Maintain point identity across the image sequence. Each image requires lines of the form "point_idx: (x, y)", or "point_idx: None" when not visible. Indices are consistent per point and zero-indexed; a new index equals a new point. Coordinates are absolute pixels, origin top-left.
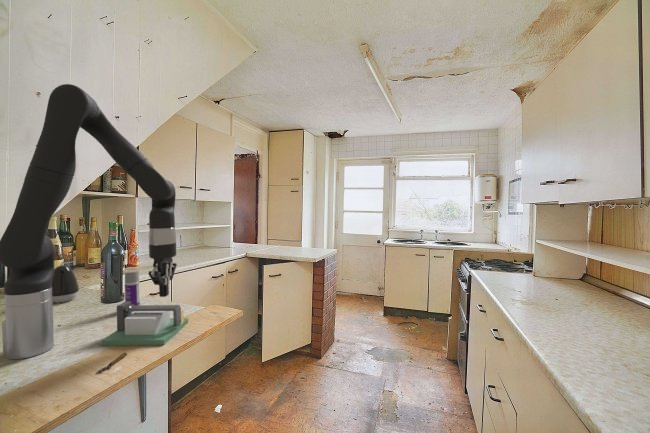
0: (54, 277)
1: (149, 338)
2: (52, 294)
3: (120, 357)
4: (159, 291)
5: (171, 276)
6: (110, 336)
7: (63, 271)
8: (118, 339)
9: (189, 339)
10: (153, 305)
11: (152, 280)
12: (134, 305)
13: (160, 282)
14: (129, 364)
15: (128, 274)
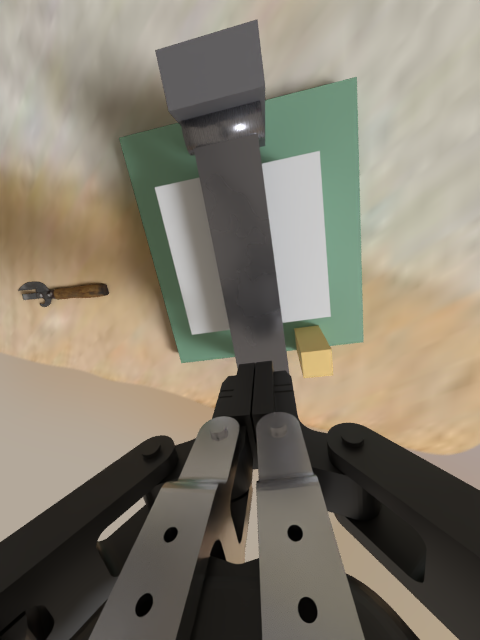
0: None
1: (178, 313)
2: None
3: (82, 297)
4: (219, 395)
5: (361, 534)
6: (154, 145)
7: None
8: (144, 206)
9: None
10: (273, 272)
11: (65, 500)
12: (258, 136)
13: (133, 521)
14: (79, 335)
15: None
